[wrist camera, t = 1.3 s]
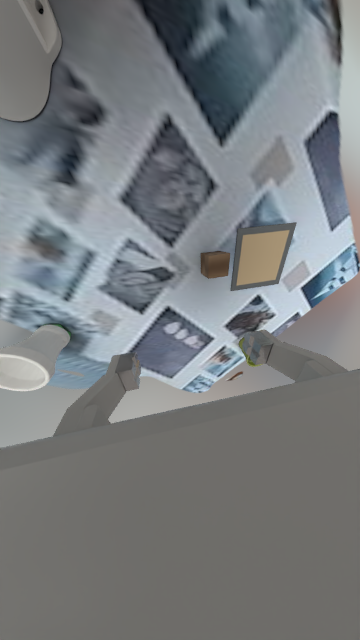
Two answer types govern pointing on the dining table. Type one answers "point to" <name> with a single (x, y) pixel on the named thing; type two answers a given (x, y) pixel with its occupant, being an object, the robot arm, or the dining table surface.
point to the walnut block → (215, 264)
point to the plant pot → (247, 355)
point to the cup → (32, 359)
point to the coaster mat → (260, 255)
